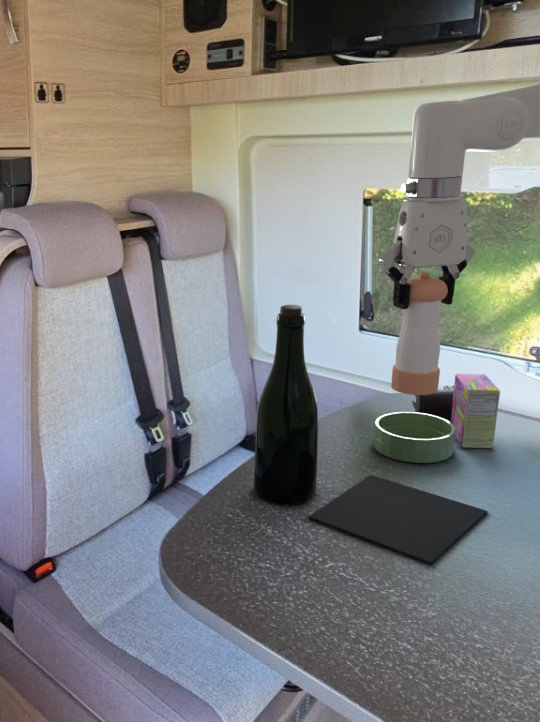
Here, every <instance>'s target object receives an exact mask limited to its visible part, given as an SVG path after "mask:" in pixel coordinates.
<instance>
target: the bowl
mask: <svg viewBox="0 0 540 722" xmlns="http://www.w3.org/2000/svg"><path fill="white" fill-rule="evenodd" d="M455 433H456V428H455V426H454V425H453V424H452V423H451V421H450V420H446V419H443V418H440V417H438V416H434V415H430V414H425V413H417V412H413V411H399V412H398V411H397V412H391V413H385V414H382V415H380V416H379V417H377V418H376V419H375V421H374V429H373V439H372V440H373V442H372V445H373V447H374V449H375V450H376V451H377V452H378V453H379V454H381V455H383V456H385V457H388V458H390V459H393V460H397V461H401V462H406V463H413V464H431V463H439V462H442V461H445V460H448V459H449V458H450V457H452V456H453V454H454V450H455V449H454V448H455V441H456V440H455V439H456V437H455Z"/></svg>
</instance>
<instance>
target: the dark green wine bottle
mask: <svg viewBox="0 0 540 722" xmlns="http://www.w3.org/2000/svg"><path fill="white" fill-rule="evenodd" d="M279 311H280V312H279V313H278V314H277V317H276V319H275V321H276V323H275V324H276V342H275V350H274V351H275V352H274V356H273V362H272V366H271V369H270V371H269V374H268V376H267V379H266V381H265V383H264V385H263V388H262V389H261V390H262V391H261V393H260V395H259V400H258V404H257V409H256V410H257V411H256V421H255V422H256V424H255V441H254V443H255V444H254V468H253V469H254V470H253V471H254V472H253V473H254V474H253V488H254V491H255V494H256V495H257V496H258V497H259V498H261V499H262V500H264V501H266V502H269V503H271V504H276V505H282V506H294V505H295V506H296V505H301V504H303V503H307V502H308V501H310V500H312V499H313V498H314V497H315V495H316V492H317V480H318V479H317V478H318V456H319V455H318V454H319V452H318V451H319V450H318V449H319V406H318V405H319V404H318V399H317V396H316V392H315V390H314V386H313V384H312V382H311V378H310V375H309V372H308V368H307V364H306V359H305V340H304V339H305V324H306V317H305V314H304V313H303V307H302V306H300V305H298V304H285V305H282V306H280V309H279Z"/></svg>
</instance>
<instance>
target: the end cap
mask: <svg viewBox="0 0 540 722" xmlns="http://www.w3.org/2000/svg"><path fill="white" fill-rule="evenodd" d="M453 394H454V385H444V386H443V389H438V391H437V392H435V393H432V394H427V395H414V397H415V399H413V400H412V401H411V403H412V407H413V410H412V412H417V413H425V414H430V415H434V416H438V417H440V418H443V419H446V420H448V421H451V415H452V405H453Z"/></svg>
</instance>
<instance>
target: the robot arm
mask: <svg viewBox="0 0 540 722" xmlns="http://www.w3.org/2000/svg"><path fill="white" fill-rule="evenodd" d="M411 128H412V130H411V141H410V153H409V163H408V164H409V165H408V178H407V181H406V183H402V184H401V186H400V192H401V193H402V194H405V197H406V199H403V200H402V202H401V205H400V208H399V213H398V217H397V221H396V225H395V226H396V227H395V232H394V238H393V244H392V245H391V246H390V247H389V248H388V249H387V250H385V252H384V253H383V254H382V255H381V256H380V257H379V258H378V263H379V265H380V266H381V267H382V269H383V270H384V272H385V274H386V275H387V276H388V277H389V278H390V281H391V282H393V290H392V291H393V293H392V302H393V303H392V304H393V307H395V308H399V309H402V310H404V309H407V308H408V307H409V297H410V284H408V283H407V281H408V280H409V279H411V276H412V274H413V272H414V270H415V269H423V268H433V267H434V268H435V267H439V269H440V272H441V275H442V276H441V275H440V276H438V279H440V280H442V281H444V282H445V284H446V285H447V289H448V293H447V295H446V297H445V298H444V299H442V300H441V304H445V305H447V306H448V305H452V304H453V300H454V299H453V298H454V294H455V285H456V280H458V279H459V278H460V276H461V273H462V272H463V271H464V270H465V269H466V267H467V266H468V263H470V261H471V260H472V259H473V257H474V256H475V255H476V250H474V249H473V247H471V245H469V243H468V242H467V241H468V211H467V210H468V209H467V203H466V198H465V197H461V192H462V184H463V175H464V165H465V158H466V152H481V153H482V152H483V153H489V152H490V153H494V152H495V153H497V152H503V151H506V150H508V149H511V148H513V147H515V146H516V145H518V144H519V143H520V142H521V141H522V140H523V139H540V83H537V84H534V85H530V86H525V87H520V88H515V89H511V90H506V91H501V92H495V93H491V94H486V95H485V94H484V95H481V96H475V97H471V98H466V99H462V100H443V101H442V100H441V101H430V102H424V103H421V104H419V105H418V106H417V107H416V108H415V110H414V113H413V119H412V127H411ZM393 262H394V263H396V266H395V265H394V263H393Z"/></svg>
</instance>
